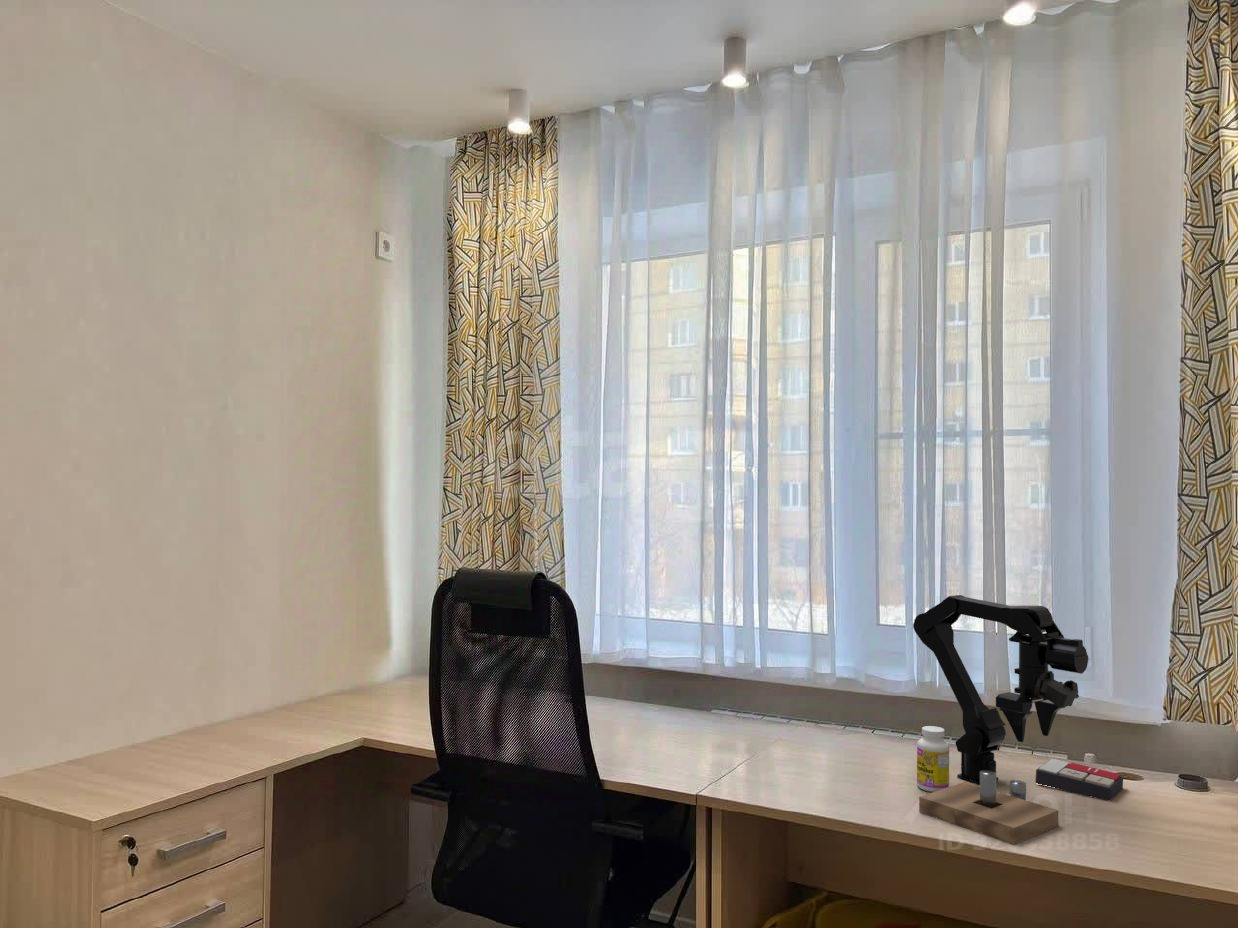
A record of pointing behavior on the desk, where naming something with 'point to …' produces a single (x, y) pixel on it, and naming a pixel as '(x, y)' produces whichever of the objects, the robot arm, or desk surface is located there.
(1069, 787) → the dark boxy piece
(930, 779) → the supplement bottle
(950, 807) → the walnut hole board
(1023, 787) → the short metal pin
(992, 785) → the long metal pin
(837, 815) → the desk surface
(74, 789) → the desk surface
